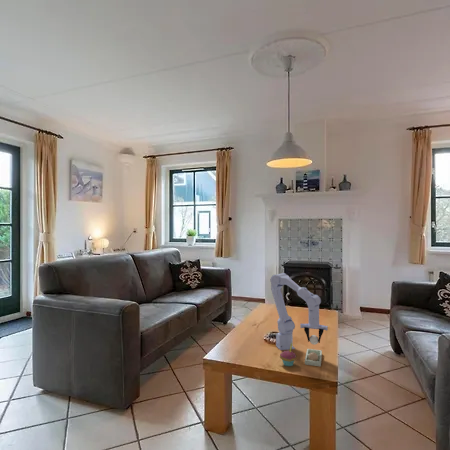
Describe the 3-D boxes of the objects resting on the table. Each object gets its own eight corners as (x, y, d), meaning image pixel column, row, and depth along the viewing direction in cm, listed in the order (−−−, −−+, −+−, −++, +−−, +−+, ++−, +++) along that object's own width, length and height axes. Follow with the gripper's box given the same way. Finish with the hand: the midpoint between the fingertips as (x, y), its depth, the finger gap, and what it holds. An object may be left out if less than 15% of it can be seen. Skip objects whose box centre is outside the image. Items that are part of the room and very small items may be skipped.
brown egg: (311, 364, 162) (311, 354, 162) (306, 360, 167) (306, 351, 167) (319, 363, 163) (319, 354, 163) (315, 359, 168) (315, 350, 168)
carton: (320, 367, 160) (320, 362, 160) (304, 365, 163) (304, 360, 163) (321, 354, 175) (321, 350, 175) (307, 352, 178) (307, 348, 178)
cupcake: (294, 361, 167) (294, 339, 167) (298, 368, 159) (298, 345, 159) (278, 361, 167) (278, 339, 167) (281, 368, 159) (281, 345, 159)
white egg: (311, 346, 170) (311, 337, 170) (307, 342, 175) (307, 334, 175) (320, 345, 171) (320, 336, 171) (315, 342, 176) (315, 333, 176)
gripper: (327, 316, 174) (327, 340, 174) (301, 314, 179) (301, 337, 179) (327, 320, 167) (327, 345, 167) (299, 317, 172) (300, 342, 172)
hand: (313, 341), depth 173 cm, fingers closed on white egg, 5 cm apart
